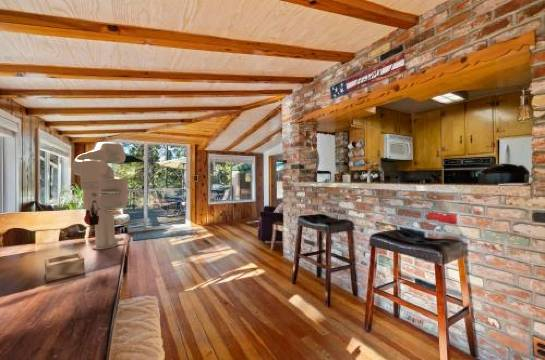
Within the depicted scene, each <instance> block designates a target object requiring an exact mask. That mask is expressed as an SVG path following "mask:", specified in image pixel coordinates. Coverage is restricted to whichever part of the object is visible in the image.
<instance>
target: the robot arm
mask: <svg viewBox="0 0 545 360" xmlns="http://www.w3.org/2000/svg"><path fill="white" fill-rule="evenodd" d="M126 158H127V157H126V153H125V149H124V147H123V146H122V144H120V143H119V142H113V141H112V142H111V141H110V142H108V141H107V142H106V141H103V142H102V141H101V142H96V143H95V144H94V145H93V147H92V149H91V150H89V151H88V152H85V153H81V154H79V155H77V156H76V157H75V158H74V160H73V161H72V164H71V171H72V173H73V175H75V176H79V177H80V190H82V191H83V193H82V194H83V200H82V201H83V203H82V204H83V209H84V210H85V215H86V214H87V213H89V212H90V217H89V218H90V225H94V231H95V234H94V235H95V236H94V237H95V238H94V239H95V244H94V245H92V246H91V247H92V250H106V249H112V248H115V247H117V246H118V245H119V242H123V241H124V240H125V238H124V237H116V235H115V232H116V231H115V229H116V228H115V216H114V213H113V212H111V211H110V210H118V209H119V210H120V209H122V210H123V209H125V208H126V207H127V205H128V194H129V193H128V192H129V189H128V188H129V186H128V180H127V179H126V178H125V177H118V176H117V177H115V171H114V169H113V168H112V167H111V166H110V165H108V164H123V163H125V161H126ZM92 211H93V212H92ZM98 215H99V221H98Z"/></svg>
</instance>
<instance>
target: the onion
mask: <svg viewBox="0 0 545 360" xmlns="http://www.w3.org/2000/svg"><path fill="white" fill-rule="evenodd" d="M92 212H93V211H92ZM89 217H90V212H89V213H87V214H86V213H85V216H84V217H83V221H84V223H85V224H86V225H88V226H89V227H92V228H93V227H95V225H90V218H89ZM98 221H99V215H98Z"/></svg>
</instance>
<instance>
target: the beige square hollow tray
mask: <svg viewBox="0 0 545 360" xmlns="http://www.w3.org/2000/svg"><path fill="white" fill-rule="evenodd" d="M85 267H86V266H85V257H84V256H83V254H82V253H80V252H76V253H69V254H65V255H59V256H55V257H48V258H44V274H45V279H46V282H50V281H54V280H58V279H63V278H67V277H72V276H75V275H79V274H80V275H81V274H84V273H85Z"/></svg>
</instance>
